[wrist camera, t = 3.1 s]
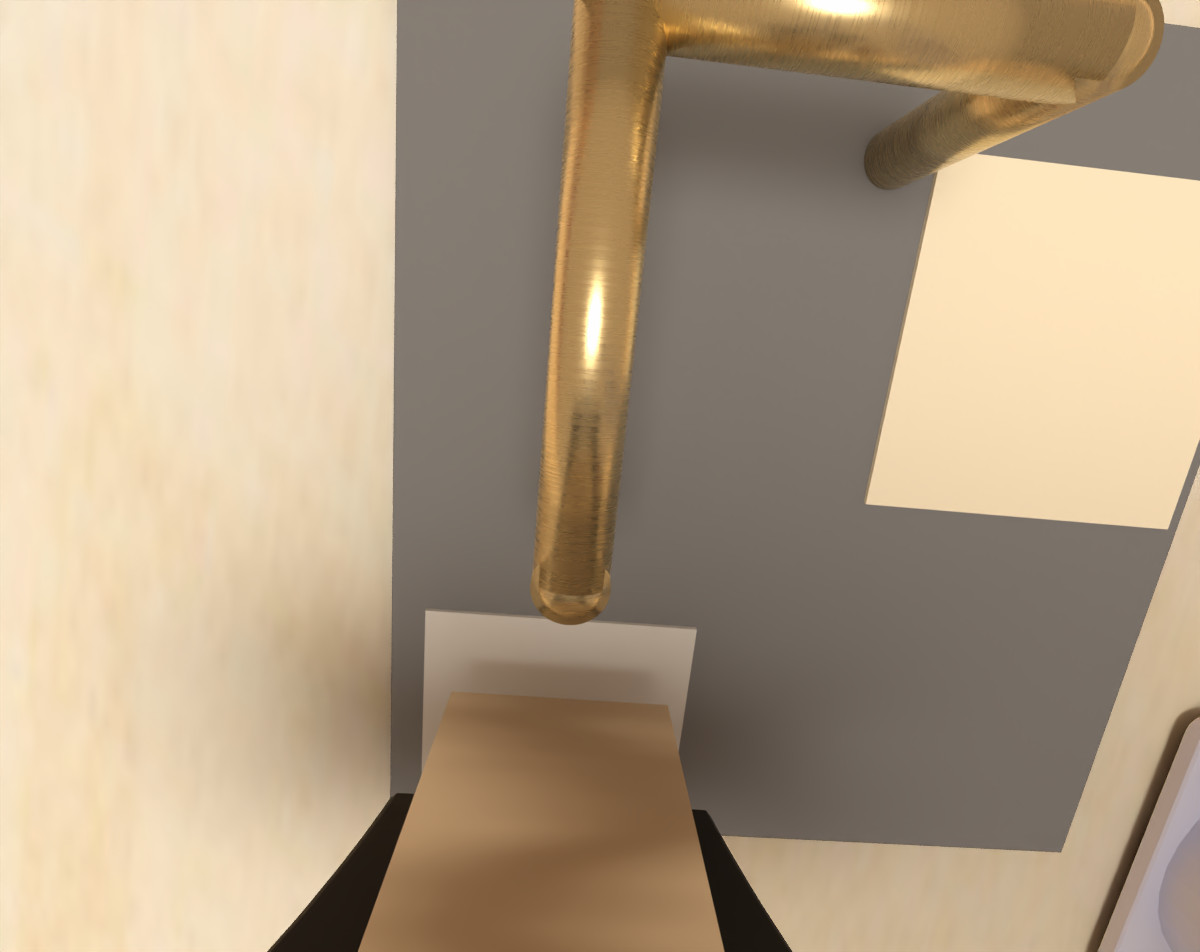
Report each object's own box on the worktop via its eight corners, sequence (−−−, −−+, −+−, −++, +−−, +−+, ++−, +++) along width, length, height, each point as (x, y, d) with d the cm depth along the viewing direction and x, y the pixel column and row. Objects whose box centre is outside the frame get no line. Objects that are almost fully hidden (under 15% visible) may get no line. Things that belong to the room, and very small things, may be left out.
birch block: (667, 705, 11) (769, 1148, 5) (643, 876, 12) (704, 1414, 6) (451, 691, 11) (291, 1136, 5) (445, 866, 12) (305, 1415, 6)
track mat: (1326, 56, 10) (1356, 45, 10) (1047, 851, 14) (1060, 865, 14) (403, -68, 9) (396, -86, 9) (394, 819, 13) (388, 833, 13)
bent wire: (926, 130, 10) (1198, -28, 6) (841, 539, 12) (995, 662, 7) (579, 87, 10) (579, -115, 5) (546, 515, 11) (526, 630, 7)
